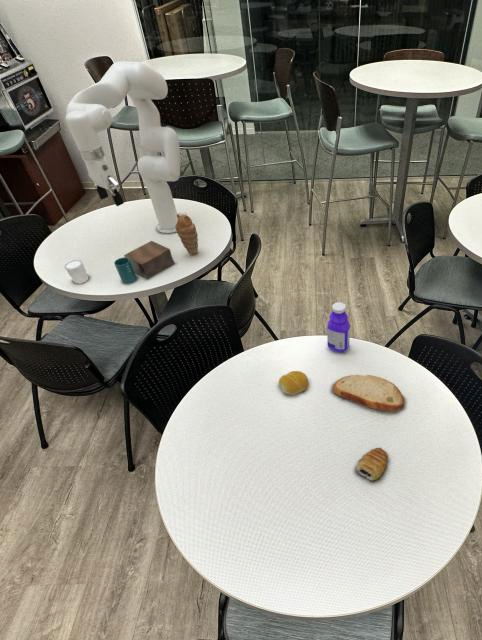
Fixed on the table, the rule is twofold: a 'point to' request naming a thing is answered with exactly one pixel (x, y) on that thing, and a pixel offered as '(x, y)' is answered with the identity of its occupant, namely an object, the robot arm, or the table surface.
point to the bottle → (338, 329)
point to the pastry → (372, 464)
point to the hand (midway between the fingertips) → (112, 201)
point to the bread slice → (370, 392)
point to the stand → (150, 259)
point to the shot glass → (77, 271)
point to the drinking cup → (125, 270)
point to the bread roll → (293, 382)
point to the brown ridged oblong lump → (187, 233)
